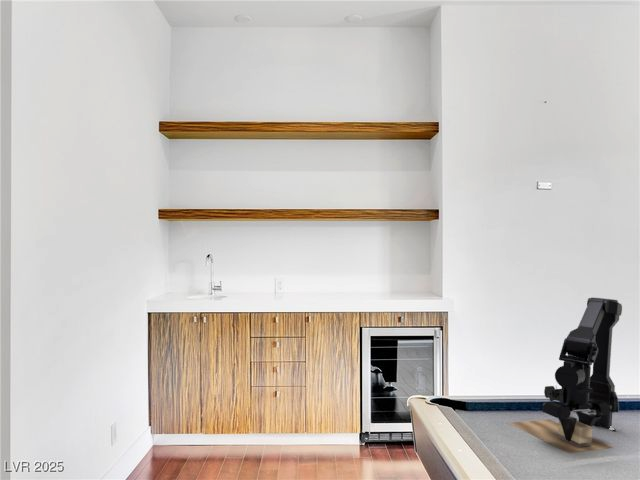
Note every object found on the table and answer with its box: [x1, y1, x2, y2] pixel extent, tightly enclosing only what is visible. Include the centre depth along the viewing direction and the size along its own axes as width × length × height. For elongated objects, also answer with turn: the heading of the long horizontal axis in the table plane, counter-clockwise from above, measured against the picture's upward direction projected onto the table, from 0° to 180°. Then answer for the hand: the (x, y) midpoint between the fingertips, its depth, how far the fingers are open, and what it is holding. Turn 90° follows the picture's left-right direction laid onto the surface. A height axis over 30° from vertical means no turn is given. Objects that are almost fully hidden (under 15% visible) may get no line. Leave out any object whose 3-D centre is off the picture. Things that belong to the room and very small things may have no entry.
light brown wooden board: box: [508, 419, 614, 454], centre depth 143 cm, size 16×22×1 cm
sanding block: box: [558, 419, 593, 447], centre depth 138 cm, size 4×7×5 cm, turn 21°
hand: (574, 439), depth 138 cm, fingers closed on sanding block, 4 cm apart
